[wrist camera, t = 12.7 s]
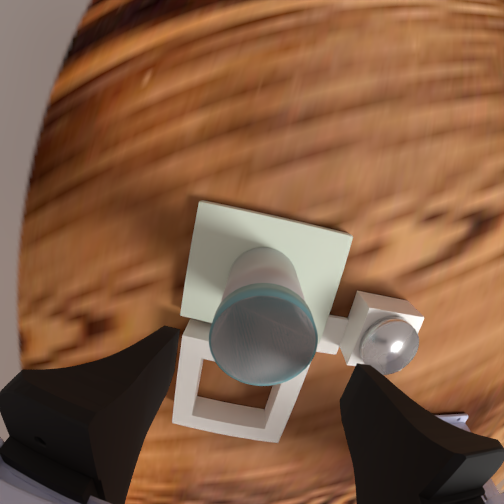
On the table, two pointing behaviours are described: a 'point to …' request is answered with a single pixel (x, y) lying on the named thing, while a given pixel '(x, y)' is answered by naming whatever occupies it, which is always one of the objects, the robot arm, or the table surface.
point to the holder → (282, 395)
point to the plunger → (389, 344)
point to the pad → (254, 236)
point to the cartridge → (263, 321)
